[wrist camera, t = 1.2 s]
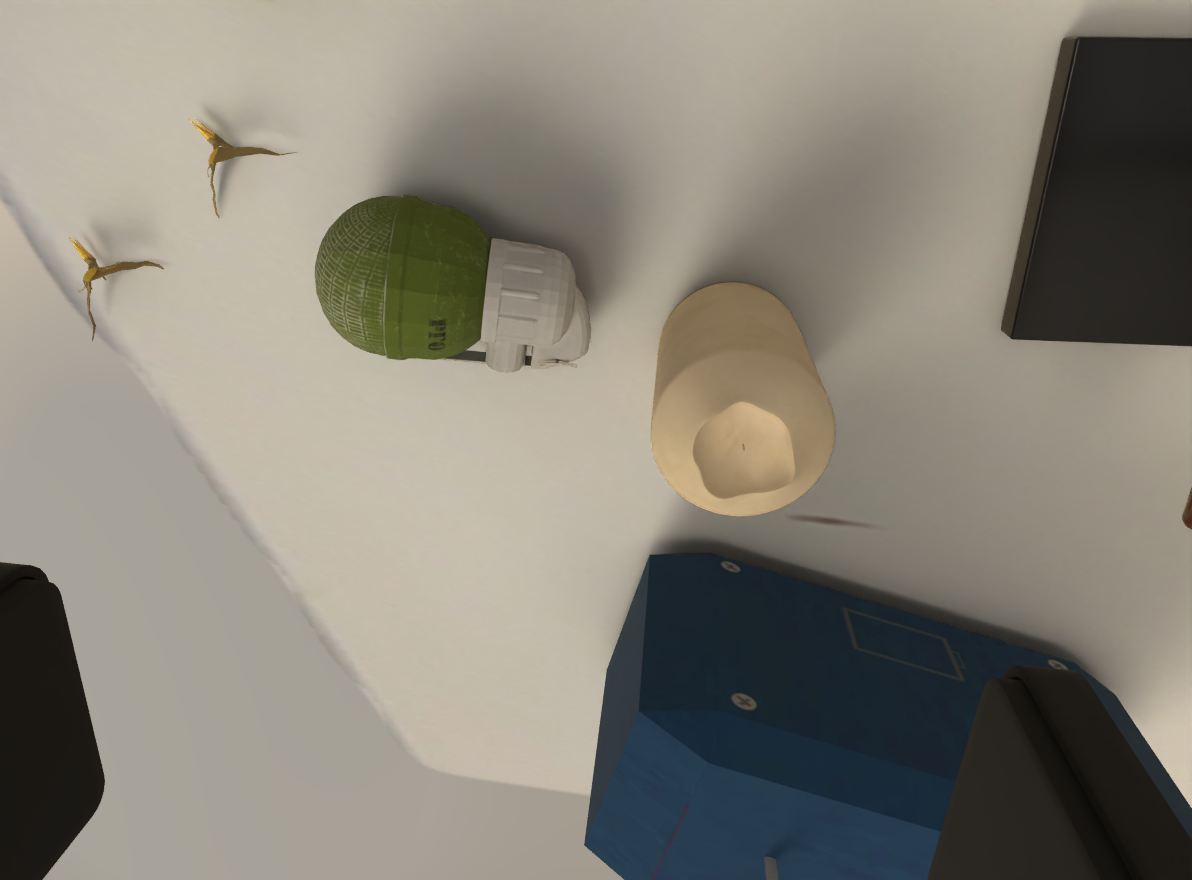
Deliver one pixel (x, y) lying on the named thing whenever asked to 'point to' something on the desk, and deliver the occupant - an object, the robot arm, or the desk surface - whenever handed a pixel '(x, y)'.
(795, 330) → the candle
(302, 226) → the desk surface
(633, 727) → the radio
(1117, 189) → the rail stand
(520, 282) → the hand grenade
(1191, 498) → the hanger
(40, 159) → the desk surface
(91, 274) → the pair of bird feet
